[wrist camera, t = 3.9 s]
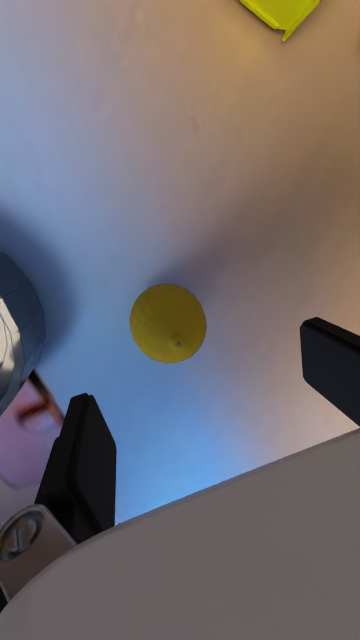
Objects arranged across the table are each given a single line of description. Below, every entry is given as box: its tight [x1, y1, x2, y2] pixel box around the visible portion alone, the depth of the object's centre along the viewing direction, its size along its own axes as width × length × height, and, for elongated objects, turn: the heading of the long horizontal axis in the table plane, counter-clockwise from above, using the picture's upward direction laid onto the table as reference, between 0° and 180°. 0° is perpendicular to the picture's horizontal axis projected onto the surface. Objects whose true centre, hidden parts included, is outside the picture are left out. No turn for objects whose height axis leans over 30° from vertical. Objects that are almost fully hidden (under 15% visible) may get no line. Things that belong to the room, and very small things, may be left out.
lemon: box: [130, 284, 207, 363], centre depth 19 cm, size 6×6×8 cm
